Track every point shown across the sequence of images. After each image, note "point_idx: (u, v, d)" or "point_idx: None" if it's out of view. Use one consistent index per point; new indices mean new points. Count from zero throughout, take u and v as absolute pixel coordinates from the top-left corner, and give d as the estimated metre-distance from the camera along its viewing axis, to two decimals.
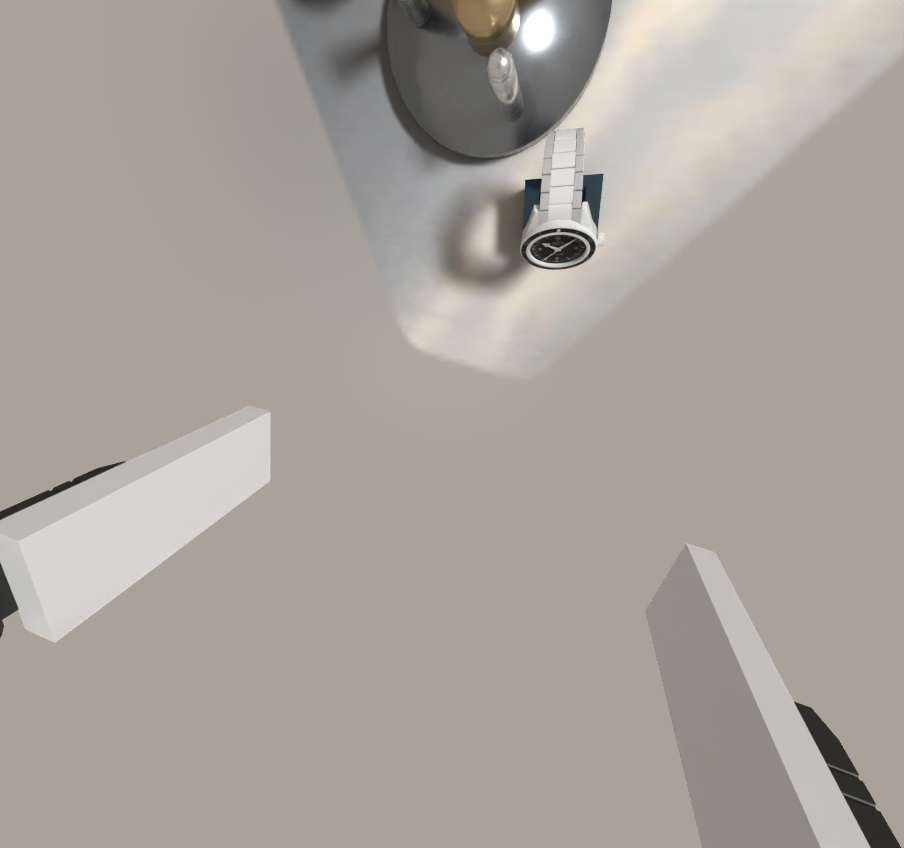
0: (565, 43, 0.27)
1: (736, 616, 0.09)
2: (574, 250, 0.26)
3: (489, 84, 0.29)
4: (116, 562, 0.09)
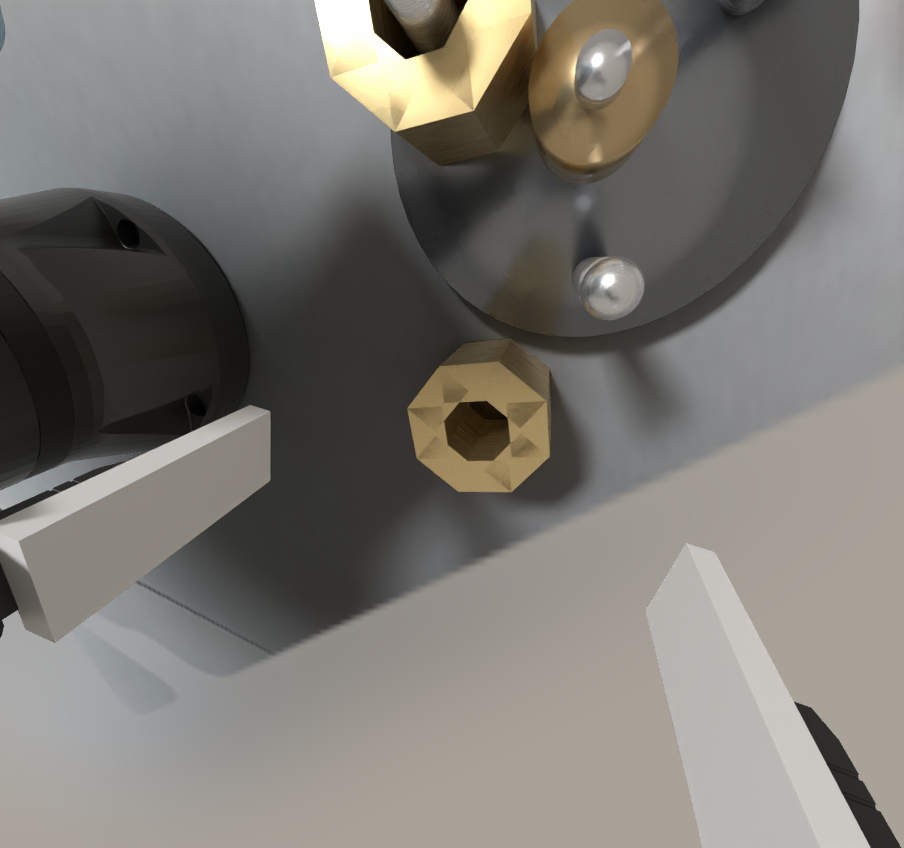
0: None
1: (736, 616, 0.09)
2: None
3: (698, 74, 0.13)
4: (116, 562, 0.09)
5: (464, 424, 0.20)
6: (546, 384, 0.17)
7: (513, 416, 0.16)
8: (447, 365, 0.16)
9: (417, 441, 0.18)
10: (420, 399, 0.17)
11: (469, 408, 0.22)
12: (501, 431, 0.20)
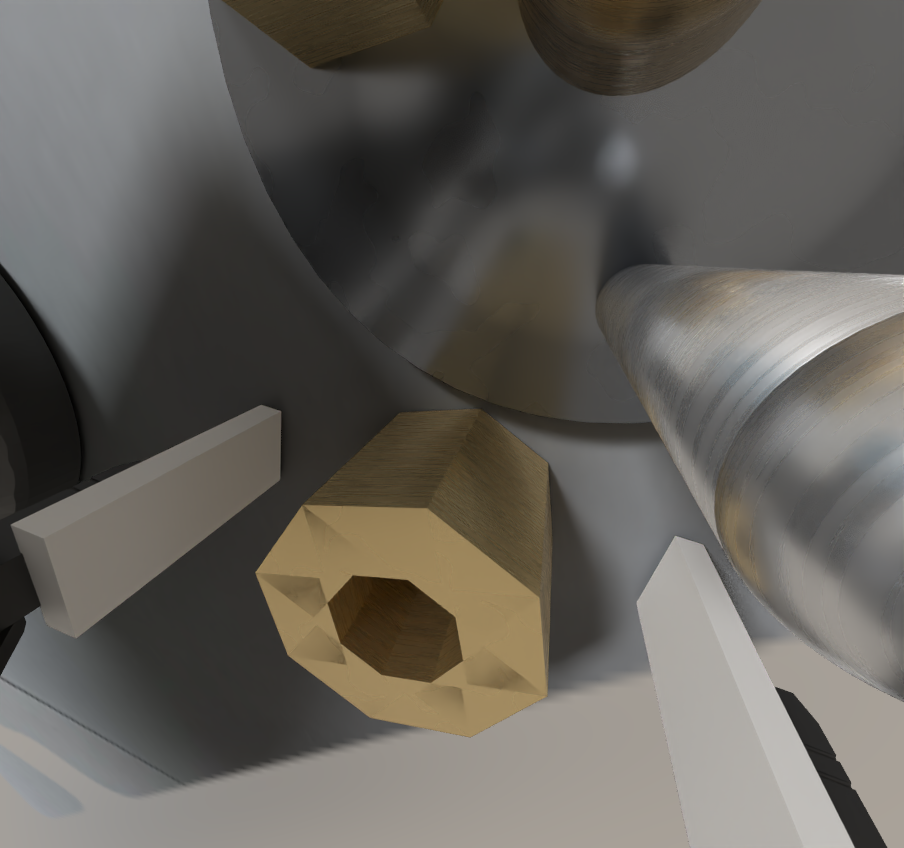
0: None
1: (721, 605, 0.09)
2: None
3: None
4: (134, 559, 0.09)
5: None
6: (541, 521, 0.09)
7: (466, 615, 0.07)
8: (321, 502, 0.07)
9: (284, 628, 0.09)
10: (276, 560, 0.08)
11: None
12: None
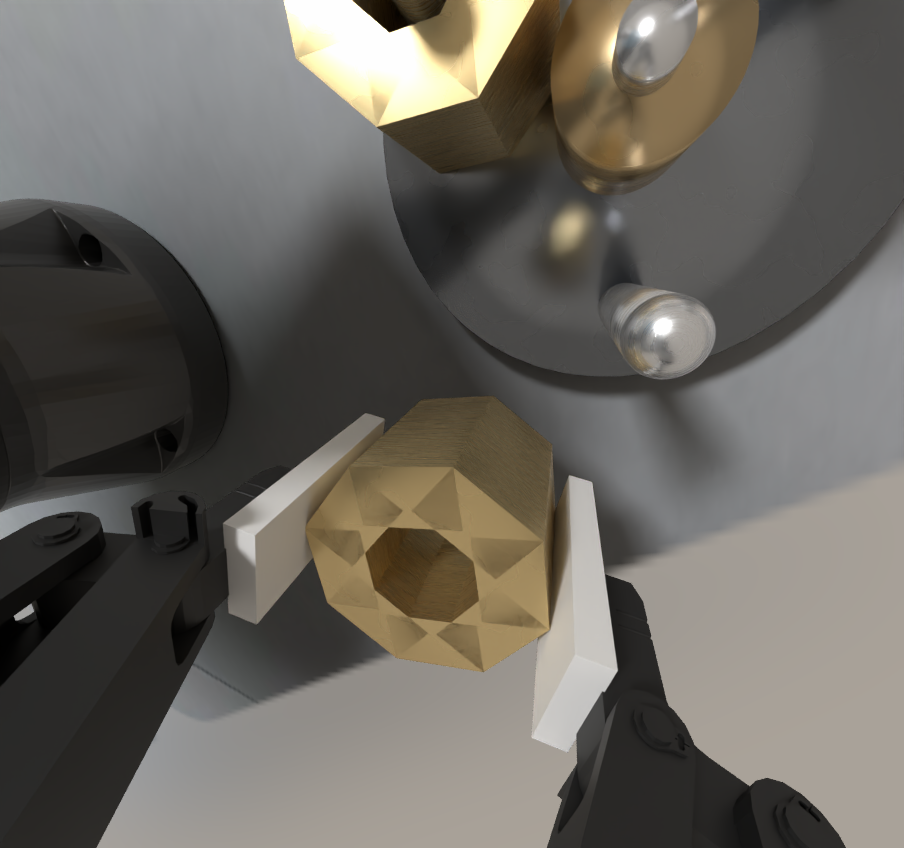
0: None
1: (586, 520, 0.11)
2: None
3: (765, 58, 0.11)
4: (293, 555, 0.10)
5: (416, 530, 0.13)
6: (545, 488, 0.10)
7: (483, 559, 0.09)
8: (364, 464, 0.09)
9: (325, 578, 0.11)
10: (323, 516, 0.10)
11: None
12: None
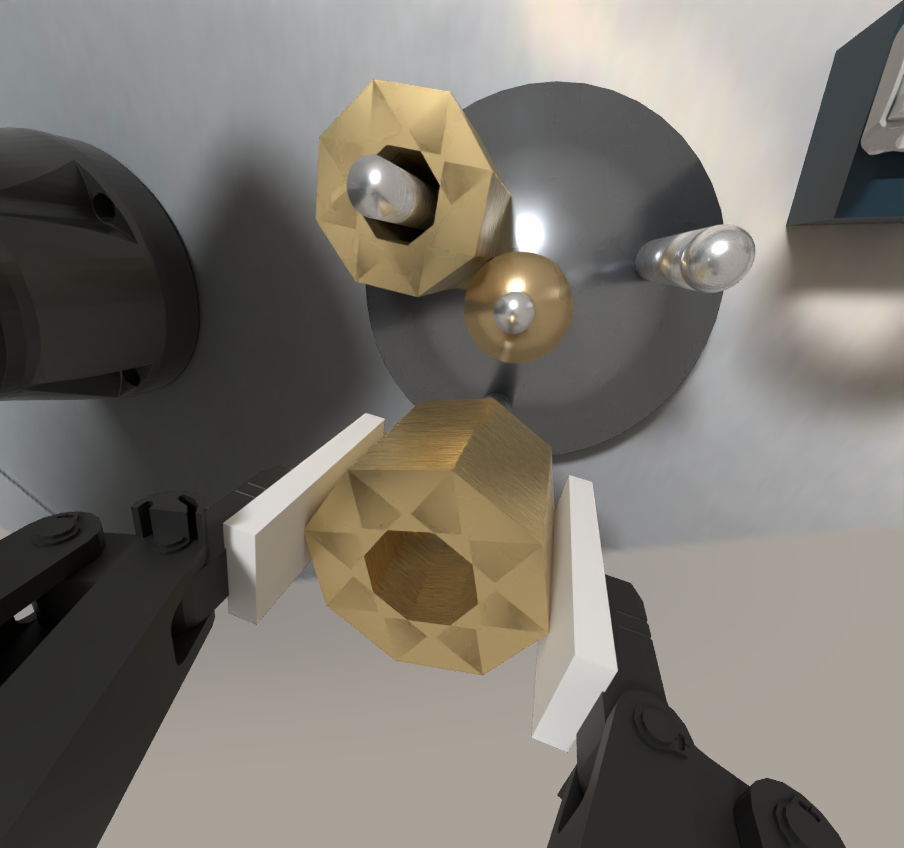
0: (582, 165, 0.16)
1: (586, 520, 0.11)
2: None
3: (607, 304, 0.17)
4: (293, 555, 0.10)
5: (416, 532, 0.13)
6: (545, 490, 0.10)
7: (482, 563, 0.09)
8: (363, 467, 0.09)
9: (324, 581, 0.10)
10: (322, 519, 0.10)
11: None
12: None
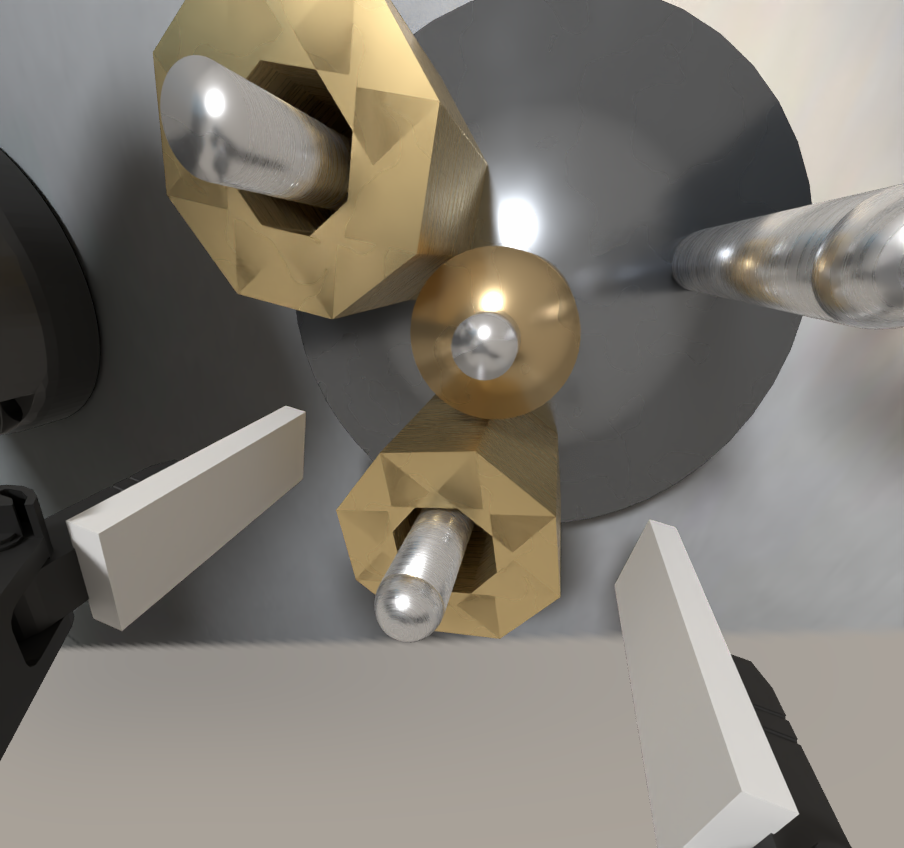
0: (593, 117, 0.10)
1: (687, 581, 0.09)
2: None
3: (629, 325, 0.12)
4: (174, 555, 0.09)
5: None
6: (554, 471, 0.11)
7: (501, 534, 0.10)
8: (394, 451, 0.10)
9: (355, 556, 0.12)
10: (355, 499, 0.11)
11: None
12: None
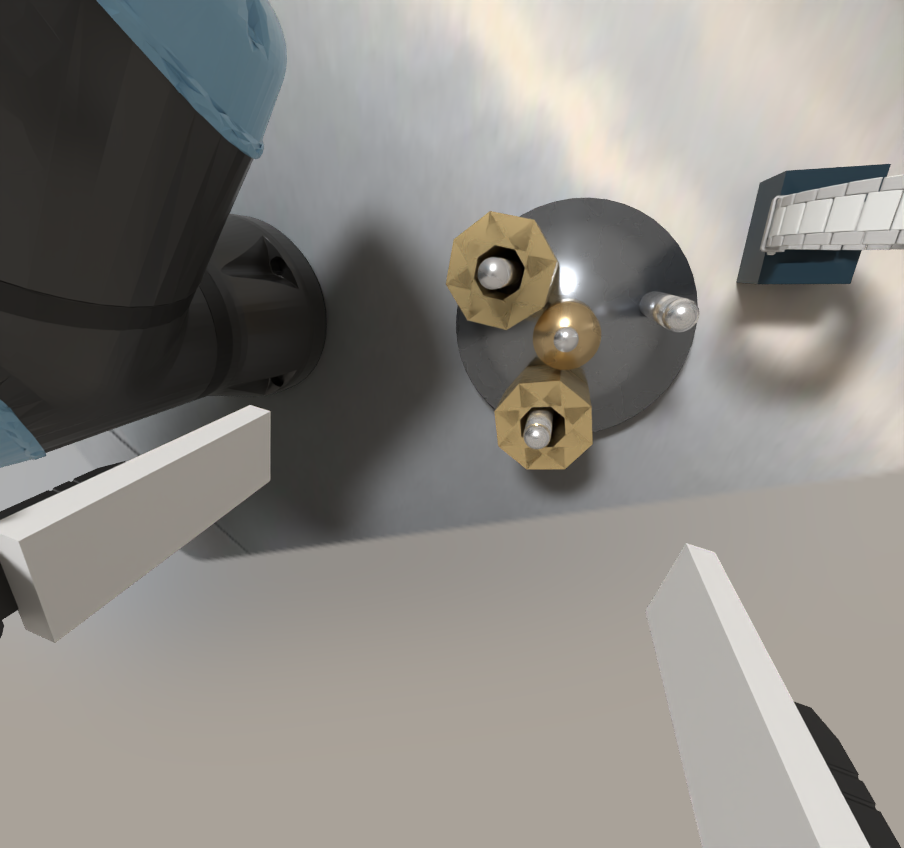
0: (605, 246, 0.25)
1: (736, 616, 0.09)
2: None
3: (621, 331, 0.26)
4: (116, 562, 0.09)
5: None
6: (588, 395, 0.26)
7: (568, 416, 0.24)
8: (524, 382, 0.25)
9: (499, 434, 0.26)
10: (504, 405, 0.25)
11: (528, 412, 0.30)
12: (553, 428, 0.28)
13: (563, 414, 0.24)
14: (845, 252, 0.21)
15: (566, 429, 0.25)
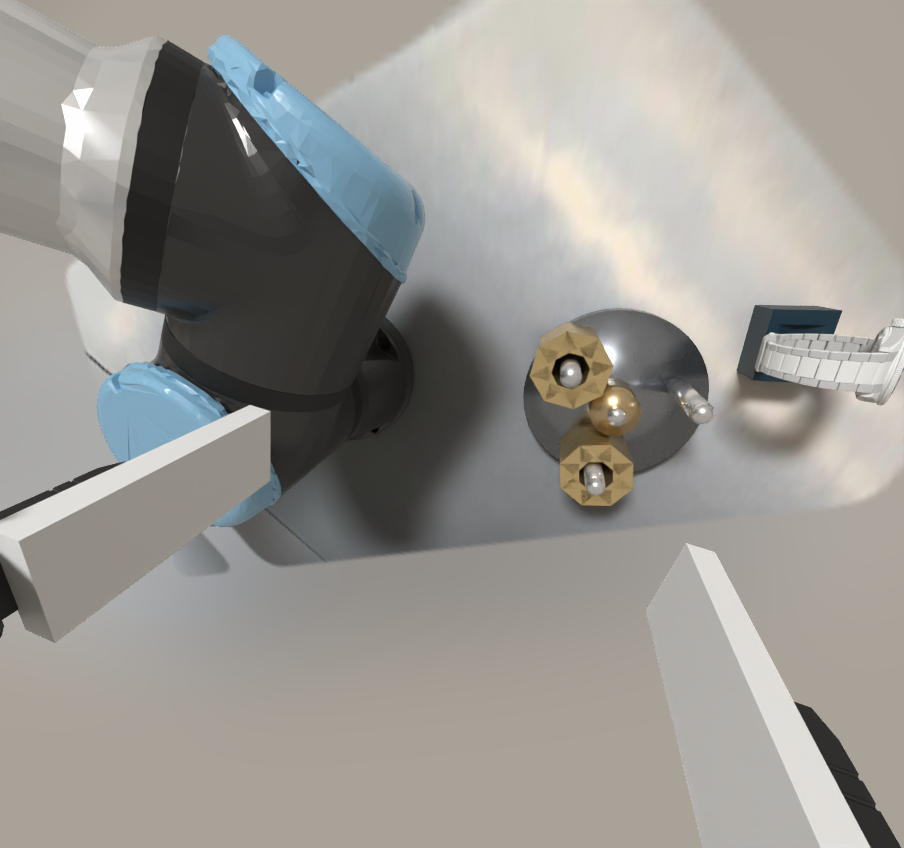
0: (642, 344, 0.34)
1: (736, 616, 0.09)
2: None
3: (652, 403, 0.36)
4: (116, 562, 0.09)
5: (579, 468, 0.37)
6: (628, 452, 0.35)
7: (615, 469, 0.34)
8: (584, 445, 0.34)
9: (562, 479, 0.35)
10: (567, 460, 0.34)
11: None
12: None
13: (612, 468, 0.34)
14: None
15: (613, 478, 0.34)
